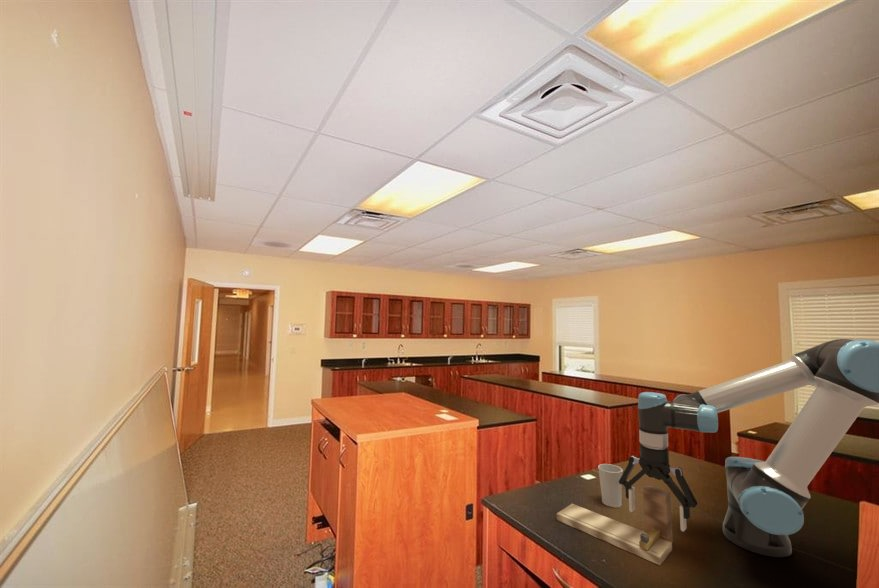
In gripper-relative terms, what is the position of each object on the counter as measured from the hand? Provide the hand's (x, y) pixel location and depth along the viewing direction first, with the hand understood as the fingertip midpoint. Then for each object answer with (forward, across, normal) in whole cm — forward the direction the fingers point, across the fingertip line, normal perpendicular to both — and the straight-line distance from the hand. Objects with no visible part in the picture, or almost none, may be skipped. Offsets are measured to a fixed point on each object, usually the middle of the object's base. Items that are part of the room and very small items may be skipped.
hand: (656, 519), depth 106 cm
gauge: (+6, 0, +5) cm, 8 cm away
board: (+6, +11, +7) cm, 14 cm away
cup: (+6, +19, -13) cm, 23 cm away
